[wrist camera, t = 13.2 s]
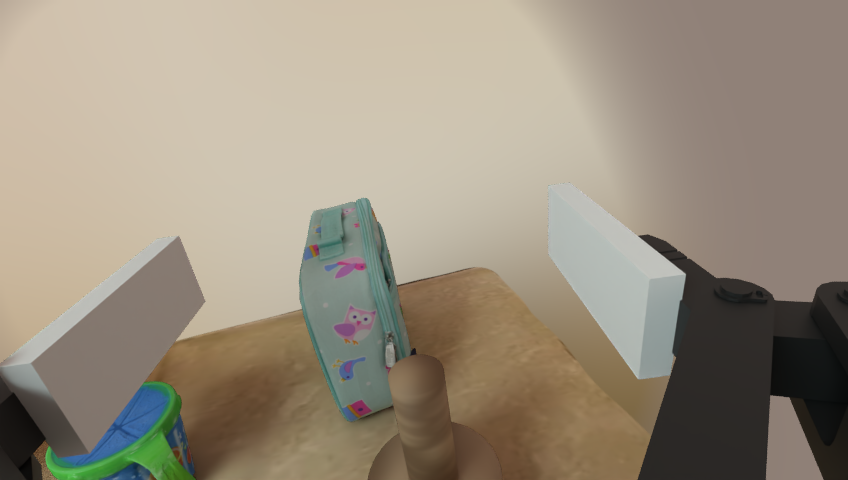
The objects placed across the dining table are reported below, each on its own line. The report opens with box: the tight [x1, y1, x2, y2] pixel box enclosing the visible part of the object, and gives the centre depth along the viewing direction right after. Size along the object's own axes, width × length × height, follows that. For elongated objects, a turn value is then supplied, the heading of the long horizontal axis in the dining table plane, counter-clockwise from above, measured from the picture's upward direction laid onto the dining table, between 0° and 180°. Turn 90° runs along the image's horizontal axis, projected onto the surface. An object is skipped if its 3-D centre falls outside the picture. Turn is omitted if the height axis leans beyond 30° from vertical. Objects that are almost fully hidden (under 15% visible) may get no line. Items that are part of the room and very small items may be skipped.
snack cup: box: [45, 381, 196, 480], centre depth 42 cm, size 16×10×10 cm
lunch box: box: [299, 198, 416, 422], centre depth 54 cm, size 27×10×21 cm, turn 12°
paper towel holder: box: [368, 355, 502, 480], centre depth 33 cm, size 11×11×12 cm
